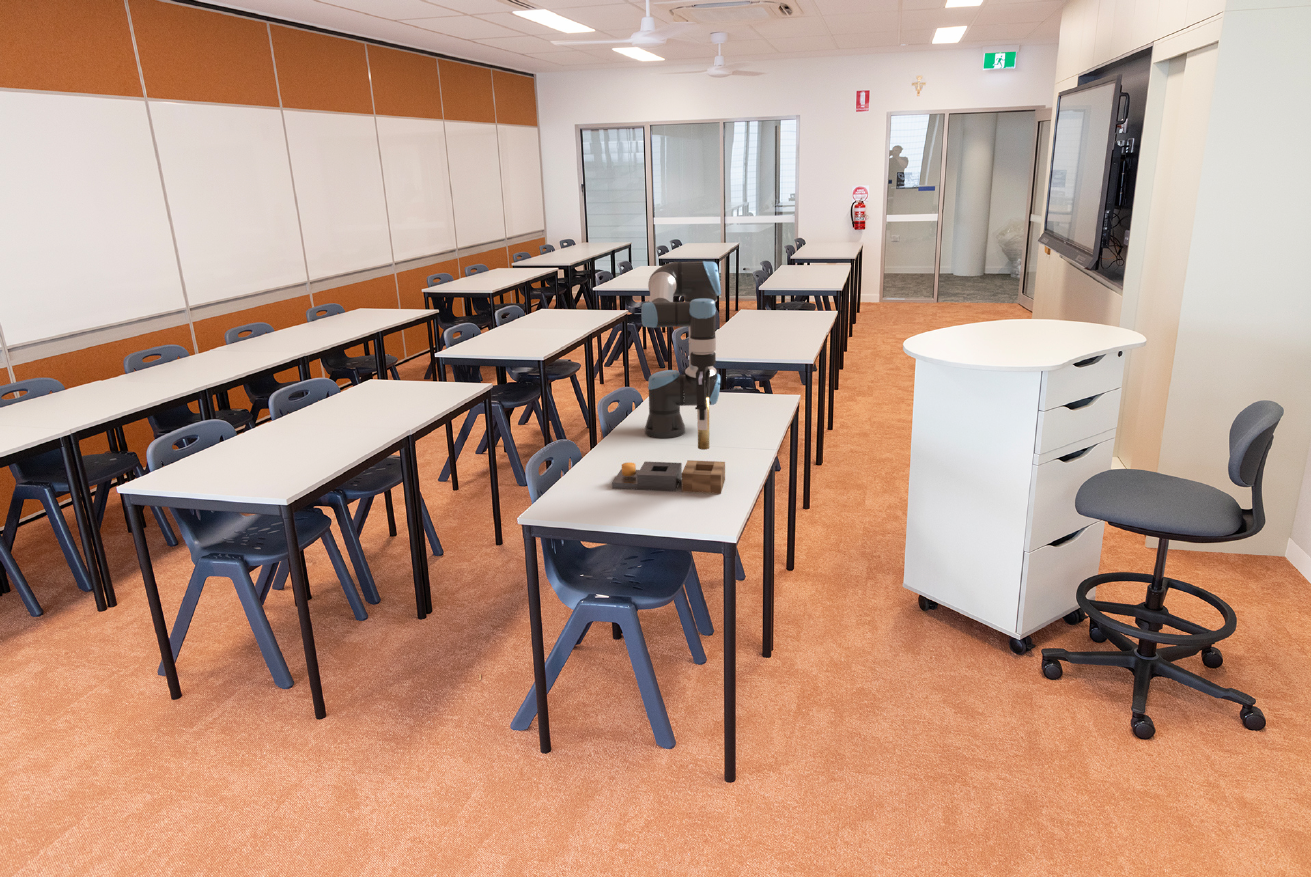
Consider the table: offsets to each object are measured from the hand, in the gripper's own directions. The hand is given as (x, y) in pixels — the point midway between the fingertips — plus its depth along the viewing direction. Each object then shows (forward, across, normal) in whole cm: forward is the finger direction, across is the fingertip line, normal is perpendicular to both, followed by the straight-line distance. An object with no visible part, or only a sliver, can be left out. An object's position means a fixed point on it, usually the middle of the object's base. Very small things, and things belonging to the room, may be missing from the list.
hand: (703, 427), depth 242 cm
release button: (+16, 0, -24) cm, 29 cm away
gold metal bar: (+7, 0, 0) cm, 7 cm away
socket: (+19, 0, -18) cm, 26 cm away
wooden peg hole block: (+19, 0, 0) cm, 19 cm away
